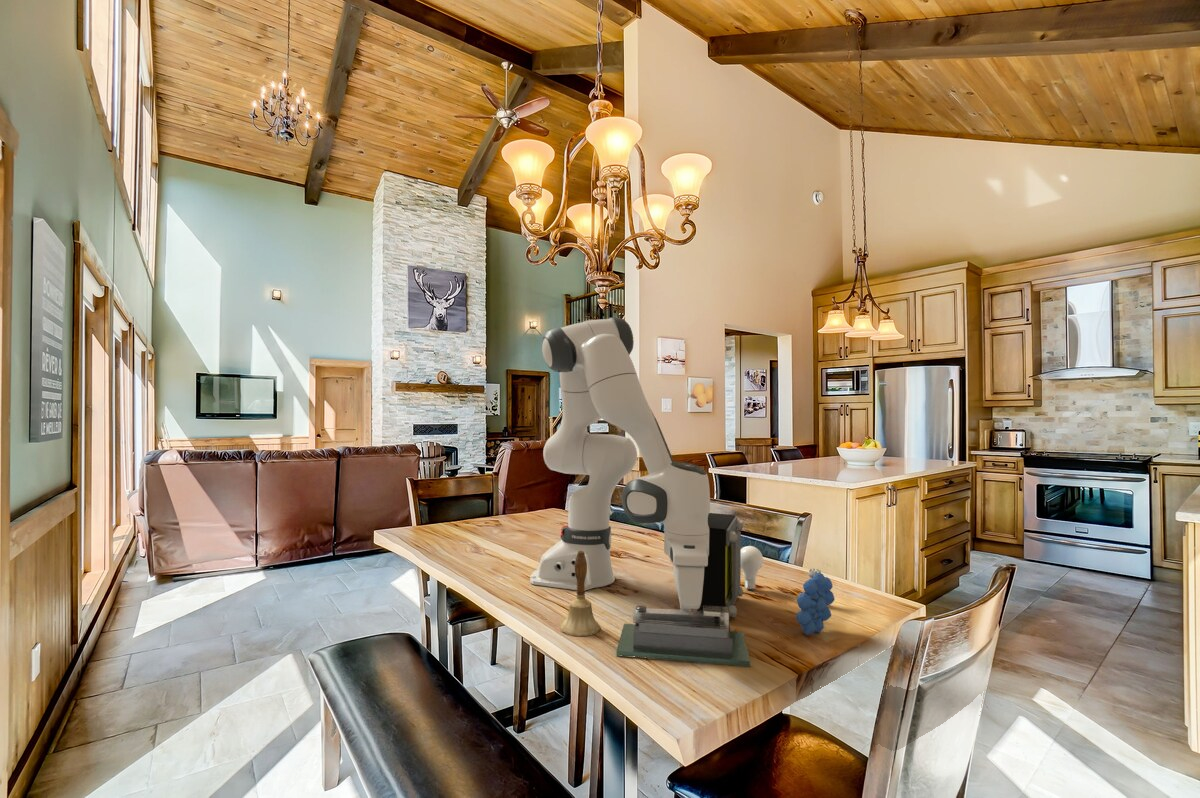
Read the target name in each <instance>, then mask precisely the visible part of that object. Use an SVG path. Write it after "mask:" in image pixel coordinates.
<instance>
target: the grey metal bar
mask: <svg viewBox="0 0 1200 798" xmlns="http://www.w3.org/2000/svg"><path fill="white" fill-rule="evenodd" d="M632 613H633V614H632V615H633V616H632V624H636V623H639V621H640V619H642V620H656V621H671V622H685V623H700V624H714V616H704V612H703V611H700V610H697V609H690V610H680V609H672V608H670V609H669V608H648V607H646V606H645V605H637V606H635V607H633V611H632Z"/></svg>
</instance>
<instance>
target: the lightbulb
mask: <svg viewBox="0 0 1200 798" xmlns="http://www.w3.org/2000/svg"><path fill="white" fill-rule="evenodd" d="M763 563H764V557H763V554H762V552H761V551H760V549H758V548H757V547H755V546H754V545H747V546H742V547H741V571H742V575H743V577H744V588H745V589H747V590H748V591H752V590H754V589H755V588H756V578H757V576H758V573H759V570H760V569H761V567H762V566H763Z"/></svg>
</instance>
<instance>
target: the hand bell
mask: <svg viewBox="0 0 1200 798" xmlns="http://www.w3.org/2000/svg"><path fill="white" fill-rule="evenodd" d="M586 573H587V562H586V558H585V555H584V551H578V554H577V557H576V560H575V575H576V579H577V590H576V598H575V599H573V600H571V601H570V603H569V609H568V613H567V617H566V619H565V620H564V621H562V623H561V624H560V626H559V627H560V628H561V629H560V631H561V630H562V631H563V632H565V633H568V634H571V635H575V636H574V637H588V636H587V635H589V636H592V635H591V634H593V635H595V634H594V633H596V632H597V633H598V632H599V631H600V630H601V625H600V623H599V622H597V621H596V619H595V616H594V615H593V614H594V613H593V609H592V607H593V605H592V603H591V601H590V600H589V599H587V598H586V594H585V593H586V592H585V591H586V590H585V587H584V582H585V577H586ZM562 631H561V632H562ZM563 632H562V633H563ZM565 633H564V634H565ZM597 633H596V634H597ZM568 634H567V635H568ZM571 635H570V636H571Z"/></svg>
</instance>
